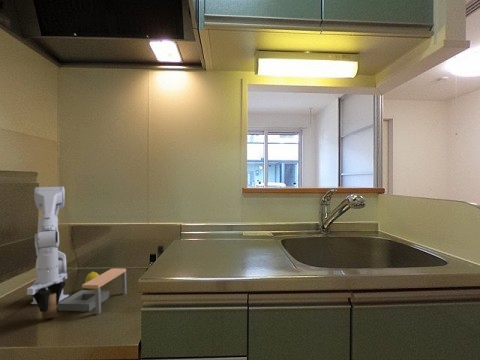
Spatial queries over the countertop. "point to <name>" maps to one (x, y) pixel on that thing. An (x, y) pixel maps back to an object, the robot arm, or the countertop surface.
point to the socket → (81, 301)
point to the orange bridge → (103, 280)
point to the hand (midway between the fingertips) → (49, 307)
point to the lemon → (90, 277)
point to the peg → (50, 307)
